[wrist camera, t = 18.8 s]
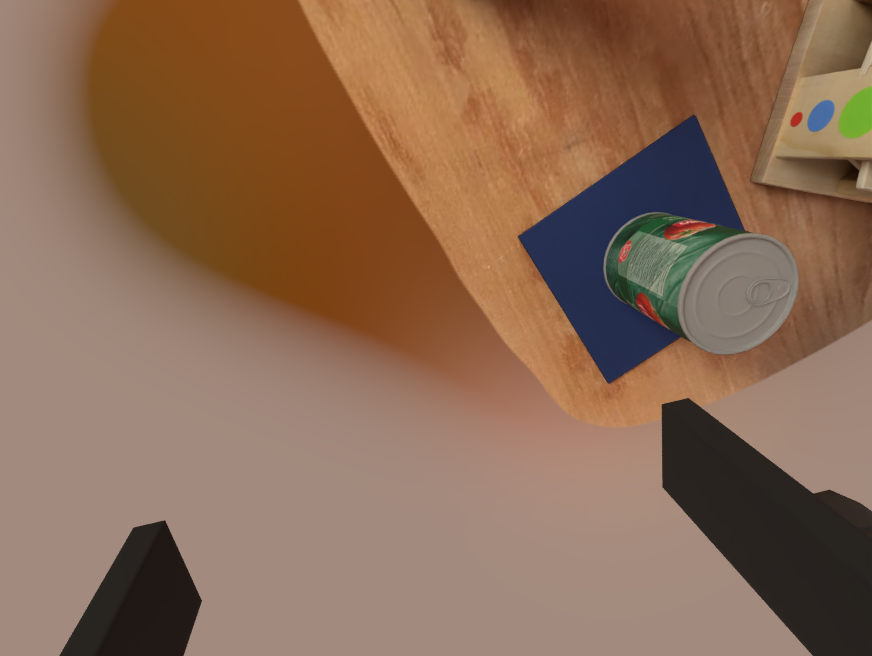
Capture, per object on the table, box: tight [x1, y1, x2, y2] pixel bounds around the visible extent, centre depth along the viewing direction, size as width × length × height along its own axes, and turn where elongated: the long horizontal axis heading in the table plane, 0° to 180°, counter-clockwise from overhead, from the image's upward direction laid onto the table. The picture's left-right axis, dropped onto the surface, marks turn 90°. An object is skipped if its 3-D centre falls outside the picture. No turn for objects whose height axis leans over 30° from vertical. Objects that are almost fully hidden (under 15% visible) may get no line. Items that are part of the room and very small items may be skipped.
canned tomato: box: [603, 212, 799, 355], centre depth 37 cm, size 8×8×11 cm
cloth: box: [518, 115, 745, 383], centre depth 42 cm, size 16×16×1 cm
